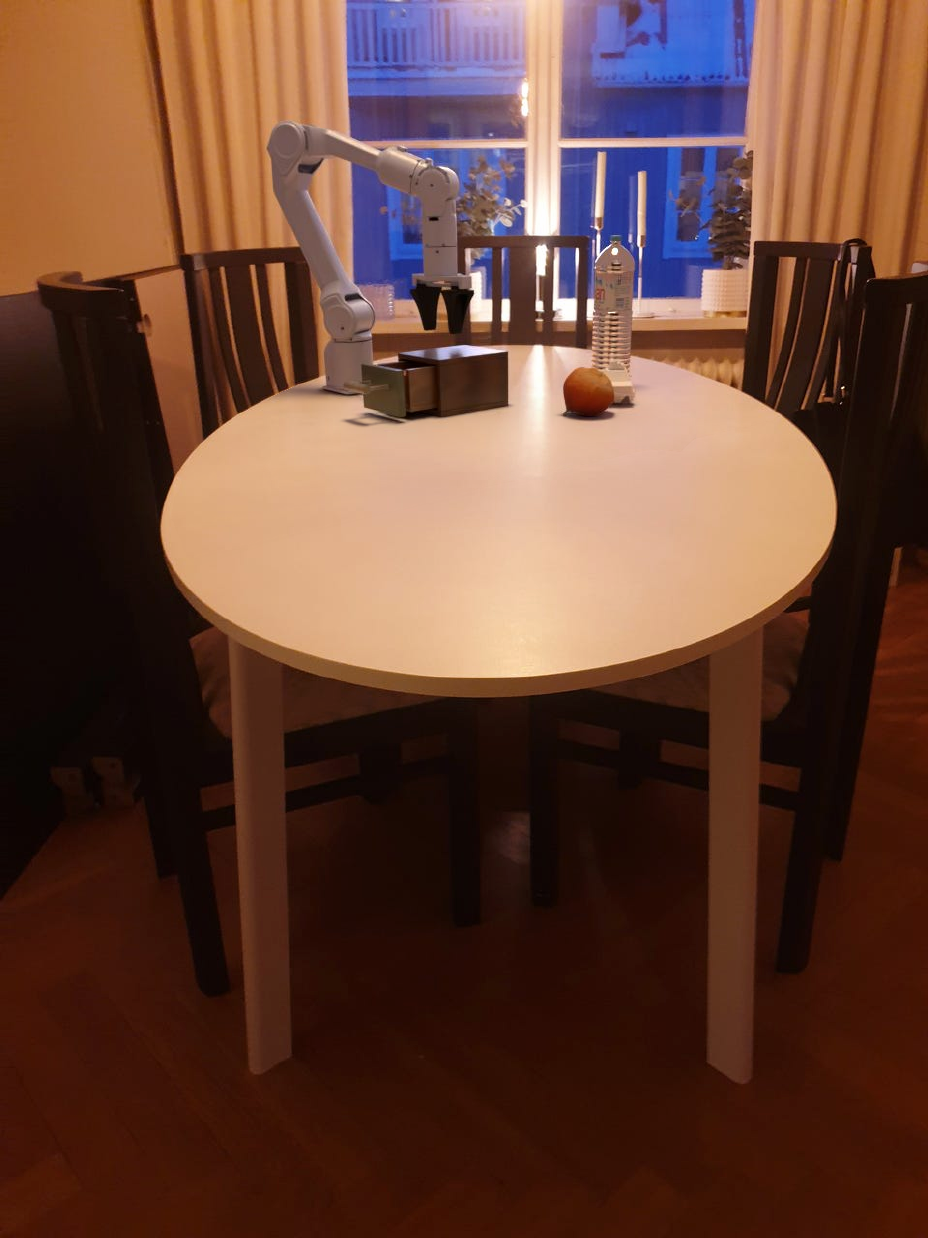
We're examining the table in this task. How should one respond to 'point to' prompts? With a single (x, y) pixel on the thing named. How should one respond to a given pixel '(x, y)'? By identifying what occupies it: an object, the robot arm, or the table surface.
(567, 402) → the fruit
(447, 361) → the cabinet
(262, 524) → the table surface
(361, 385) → the drawer
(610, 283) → the water bottle
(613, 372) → the toy car
